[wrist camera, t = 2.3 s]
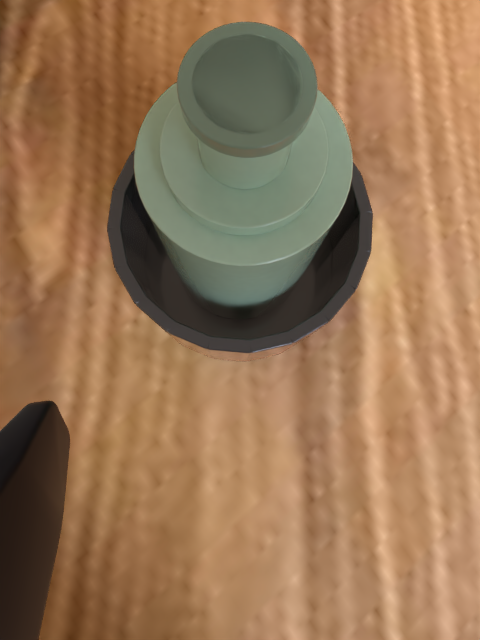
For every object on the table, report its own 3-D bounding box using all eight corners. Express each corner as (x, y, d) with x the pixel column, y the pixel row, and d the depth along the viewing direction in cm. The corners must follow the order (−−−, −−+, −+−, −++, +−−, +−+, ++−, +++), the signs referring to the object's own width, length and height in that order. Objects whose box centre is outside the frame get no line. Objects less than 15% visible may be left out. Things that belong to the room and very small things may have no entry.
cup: (363, 335, 21) (404, 318, 16) (159, 382, 20) (135, 379, 15) (311, 147, 22) (334, 78, 17) (120, 187, 22) (86, 127, 17)
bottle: (316, 303, 21) (429, 187, 9) (190, 332, 20) (130, 251, 8) (285, 185, 21) (349, -65, 10) (164, 211, 21) (76, -15, 9)
